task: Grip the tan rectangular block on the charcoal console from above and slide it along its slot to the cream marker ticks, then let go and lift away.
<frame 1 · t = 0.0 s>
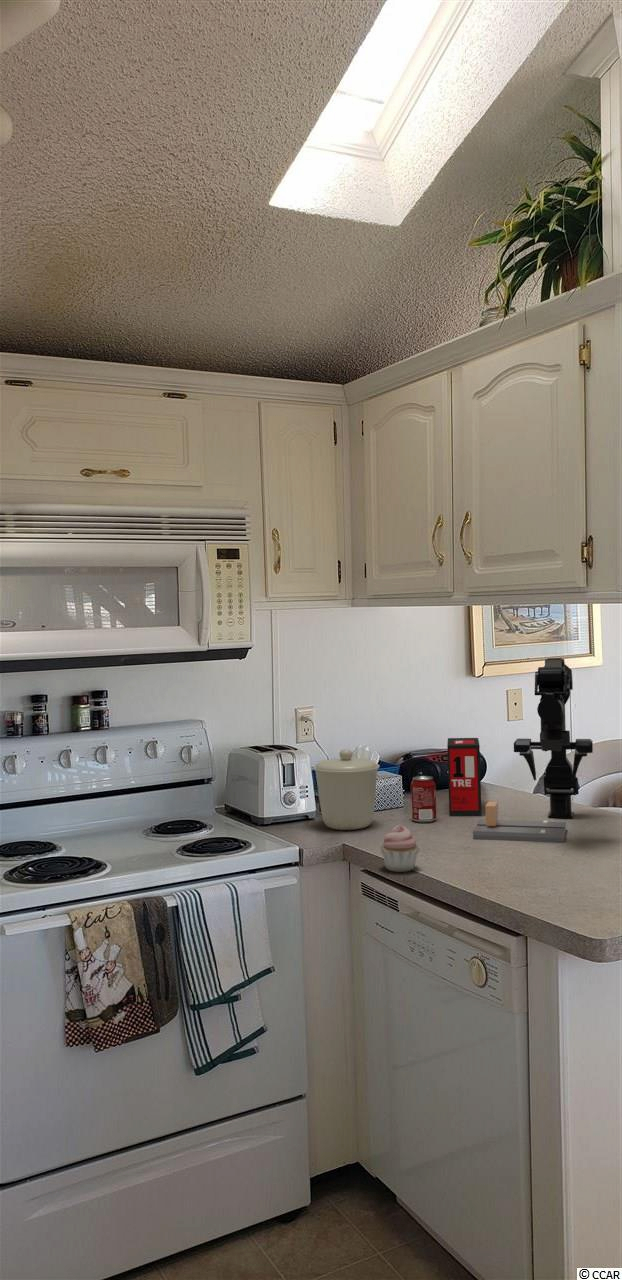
hand: (554, 780, 231), 15 cm above the countertop, tool pointing down, fingers open, 9 cm apart
cupcake: (400, 869, 209), on the countertop
canister: (348, 827, 254), on the countertop
soda can: (424, 821, 258), on the countertop
cleaning product box: (465, 811, 270), on the countertop
console: (520, 834, 238), on the countertop
tan rectangular block: (491, 815, 240), point 4 cm above the countertop, slide at -7.0 cm
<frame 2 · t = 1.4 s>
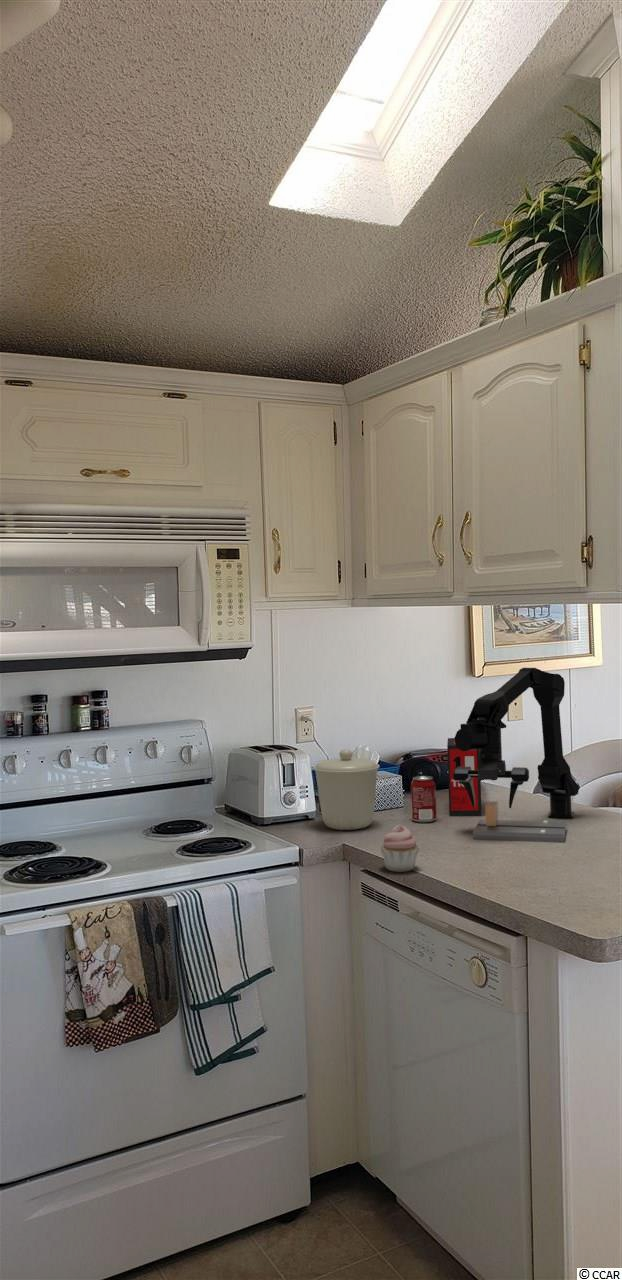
hand: (492, 807, 240), 7 cm above the countertop, tool pointing down, fingers open, 9 cm apart
nothing on the countertop moved.
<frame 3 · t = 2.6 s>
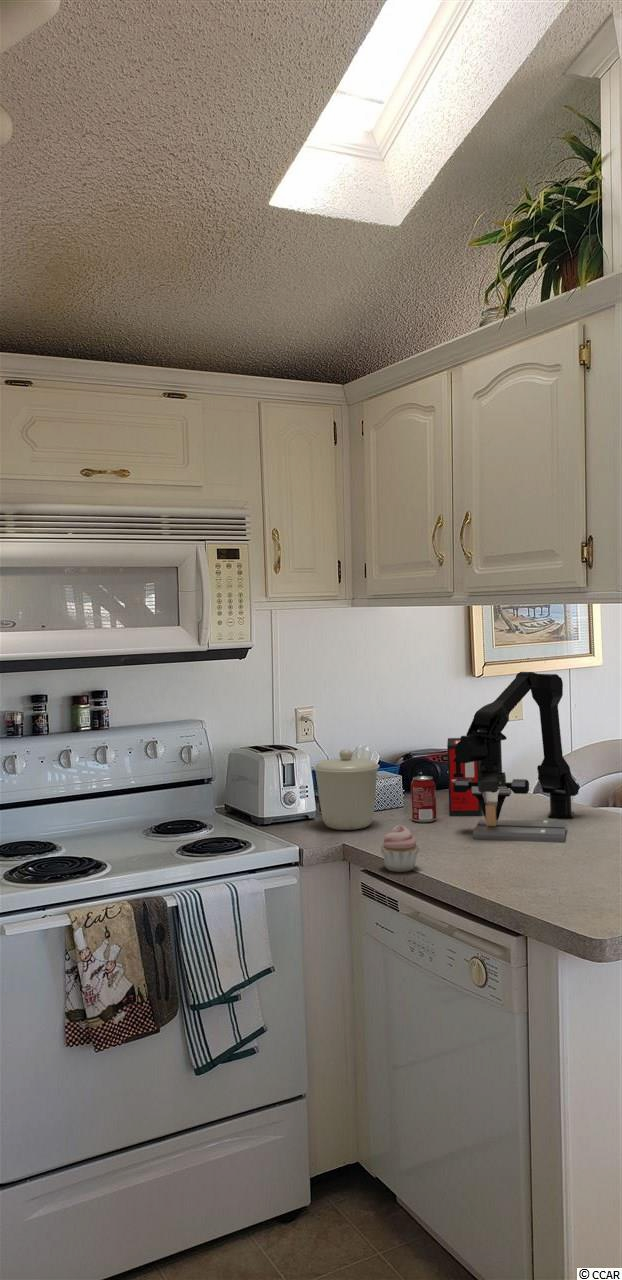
hand: (492, 819, 240), 4 cm above the countertop, tool pointing down, fingers closed on tan rectangular block, 2 cm apart
tan rectangular block: (492, 815, 240), point 4 cm above the countertop, slide at -7.0 cm, touching gripper
everything else where it was.
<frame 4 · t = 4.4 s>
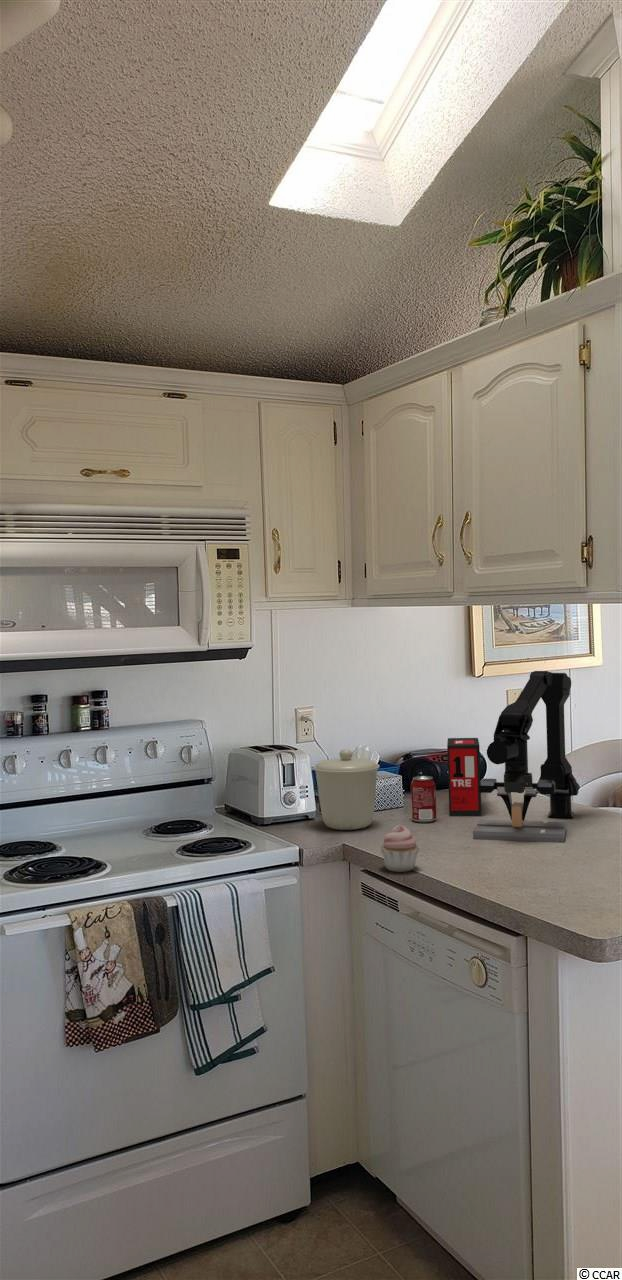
hand: (517, 820, 238), 4 cm above the countertop, tool pointing down, fingers closed on tan rectangular block, 2 cm apart
tan rectangular block: (517, 816, 238), point 4 cm above the countertop, slide at -0.5 cm, touching gripper
everything else where it was.
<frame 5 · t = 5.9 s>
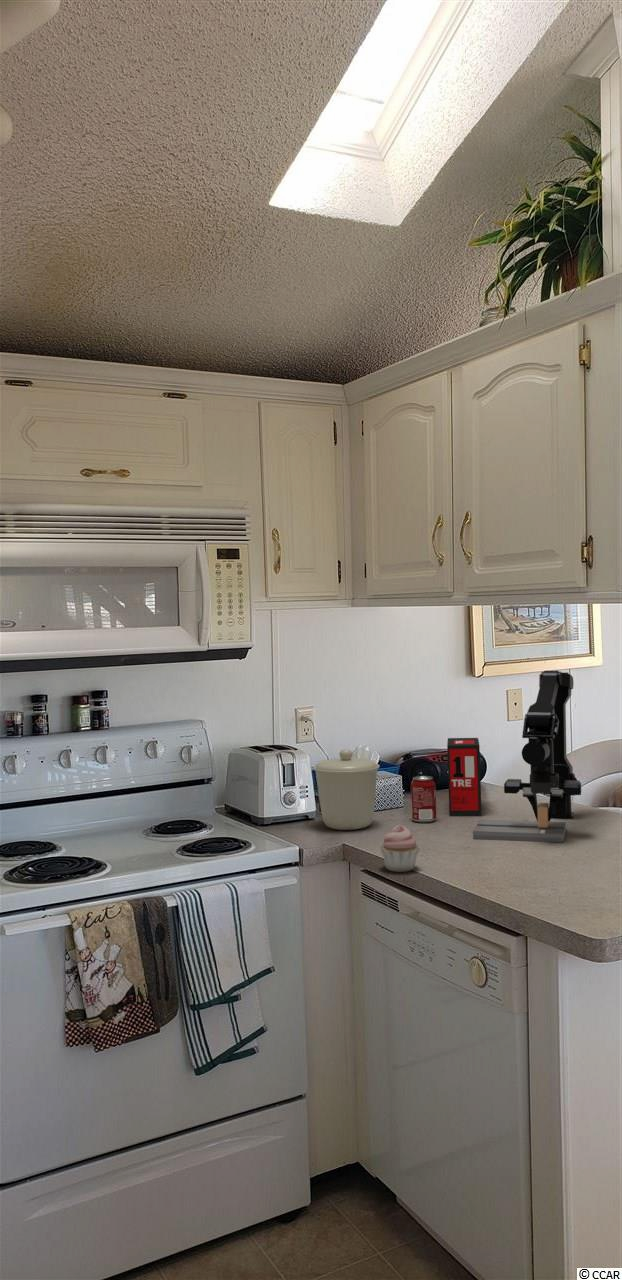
hand: (543, 820, 236), 4 cm above the countertop, tool pointing down, fingers closed on tan rectangular block, 2 cm apart
tan rectangular block: (543, 817, 236), point 4 cm above the countertop, slide at 5.9 cm, touching gripper
everything else where it was.
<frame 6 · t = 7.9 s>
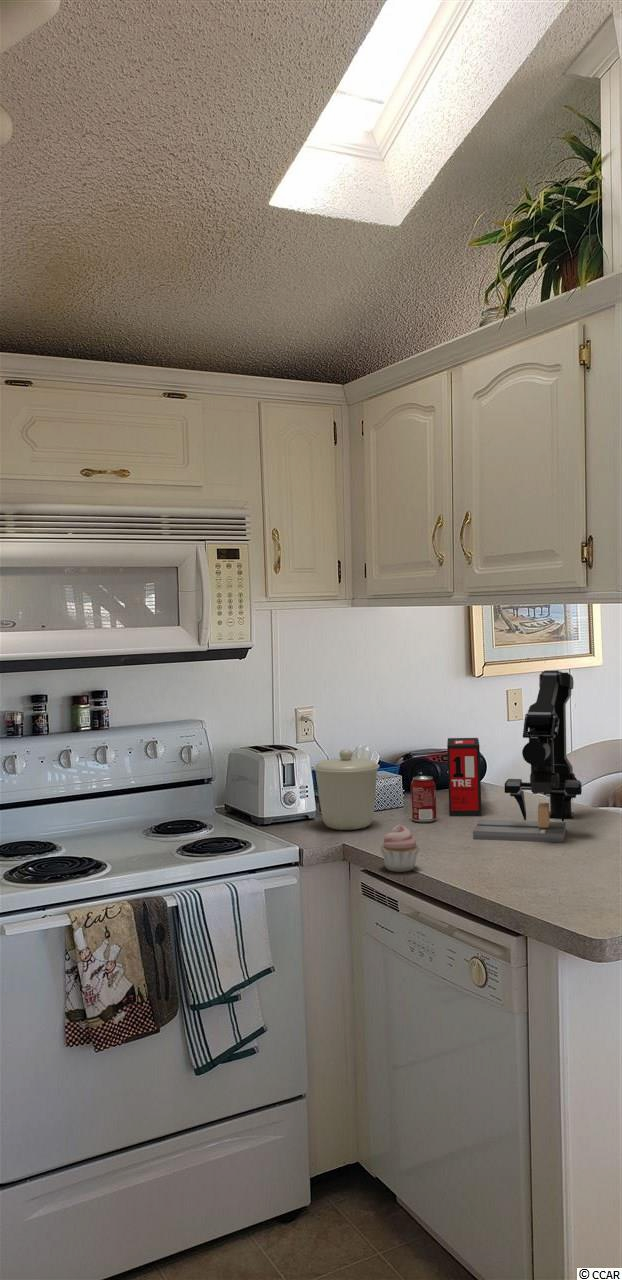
hand: (543, 820, 236), 4 cm above the countertop, tool pointing down, fingers open, 9 cm apart
tan rectangular block: (543, 817, 236), point 4 cm above the countertop, slide at 6.0 cm
everything else where it was.
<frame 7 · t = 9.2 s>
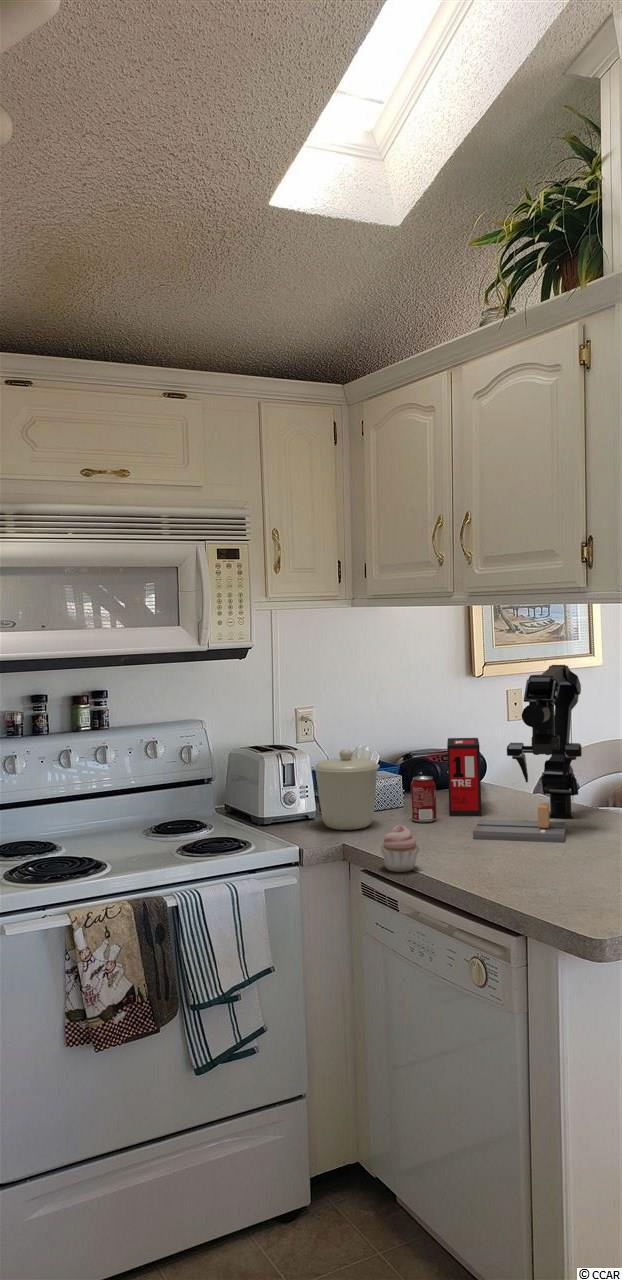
hand: (545, 782, 244), 12 cm above the countertop, tool pointing down, fingers open, 9 cm apart
nothing on the countertop moved.
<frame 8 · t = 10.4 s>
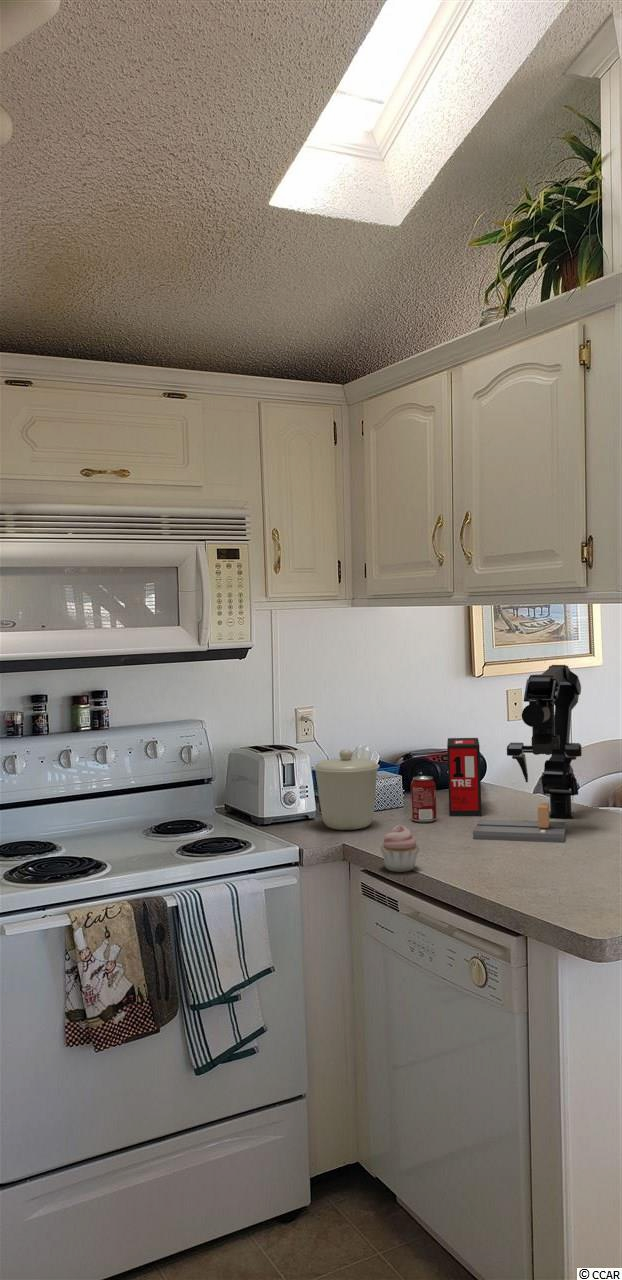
hand: (545, 782, 244), 12 cm above the countertop, tool pointing down, fingers open, 9 cm apart
nothing on the countertop moved.
at the end: tan rectangular block slide at 6.0 cm; the gripper is holding nothing; soda can moved 0.2 cm from its start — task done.
